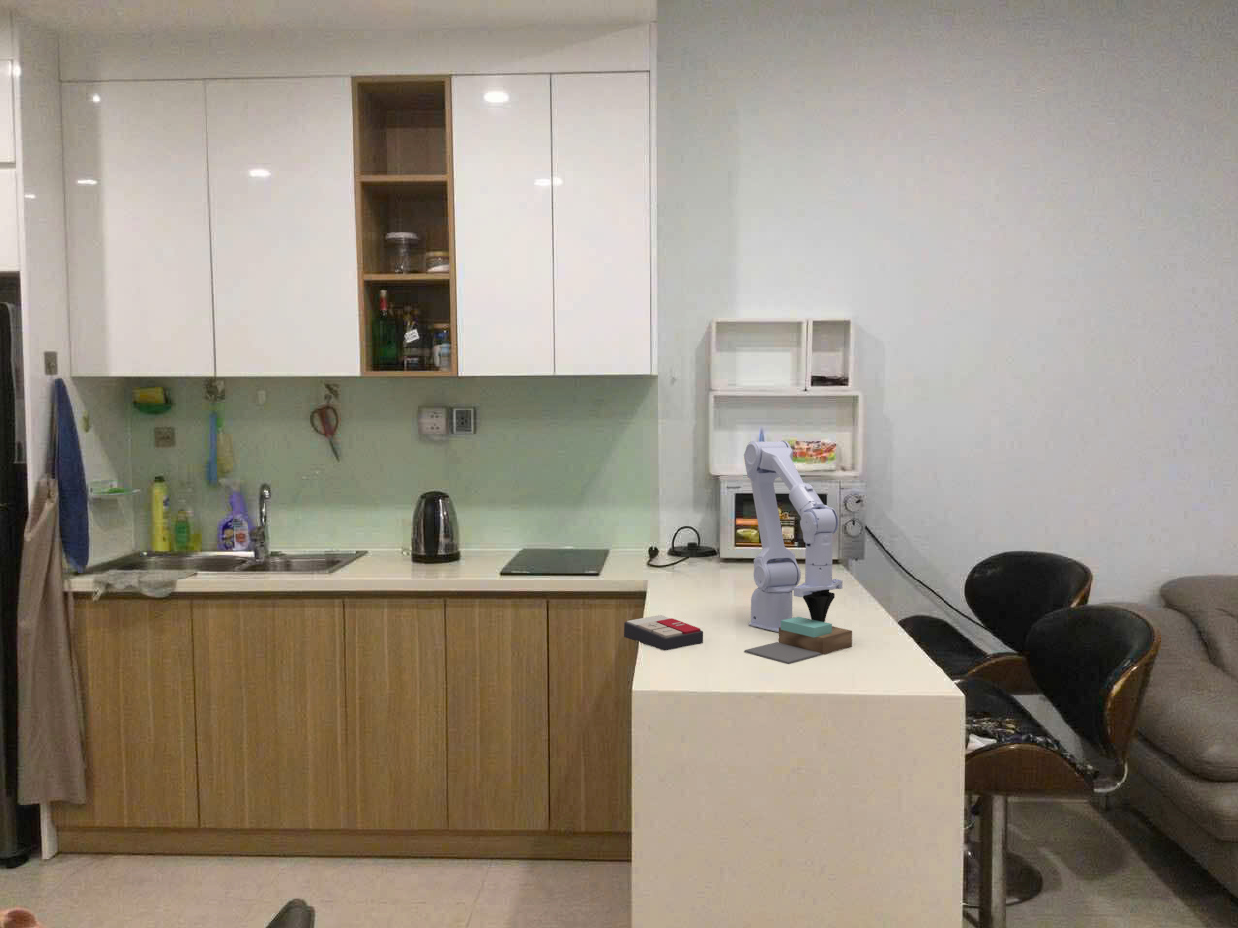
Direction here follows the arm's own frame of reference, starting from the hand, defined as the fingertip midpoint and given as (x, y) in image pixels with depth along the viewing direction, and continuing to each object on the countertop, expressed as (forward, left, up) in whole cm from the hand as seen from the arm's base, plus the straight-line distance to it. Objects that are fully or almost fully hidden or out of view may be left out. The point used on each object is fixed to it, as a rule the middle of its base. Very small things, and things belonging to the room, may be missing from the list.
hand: (818, 625), depth 200 cm
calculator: (-25, -23, -5) cm, 34 cm away
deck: (0, -1, -4) cm, 4 cm away
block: (0, -4, 0) cm, 4 cm away
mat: (0, -12, -4) cm, 12 cm away
